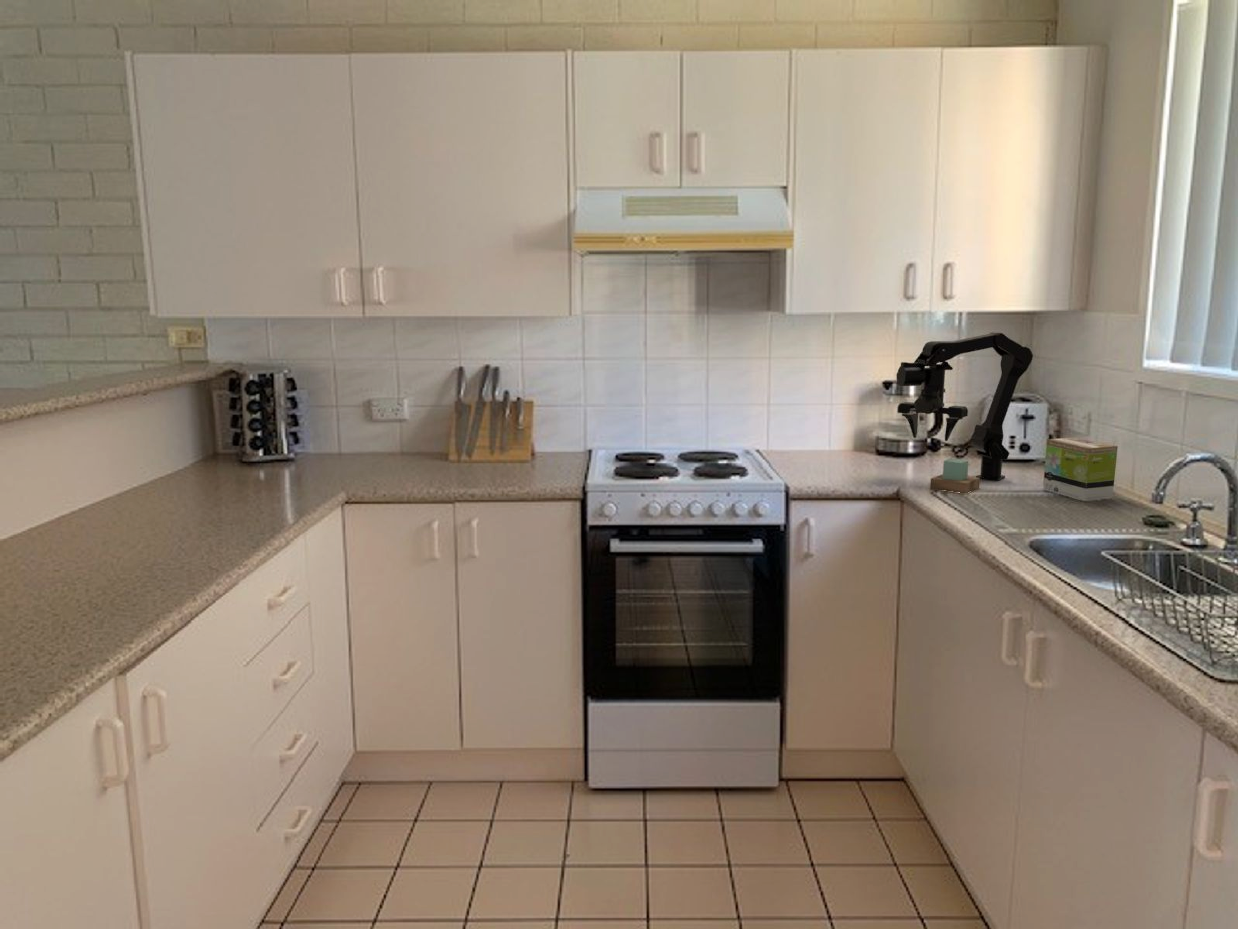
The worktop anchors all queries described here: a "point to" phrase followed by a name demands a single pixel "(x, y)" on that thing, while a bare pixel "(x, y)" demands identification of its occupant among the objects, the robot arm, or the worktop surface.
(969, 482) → the walnut block
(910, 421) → the robot arm
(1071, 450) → the tea box
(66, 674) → the worktop surface
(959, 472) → the teal cube
